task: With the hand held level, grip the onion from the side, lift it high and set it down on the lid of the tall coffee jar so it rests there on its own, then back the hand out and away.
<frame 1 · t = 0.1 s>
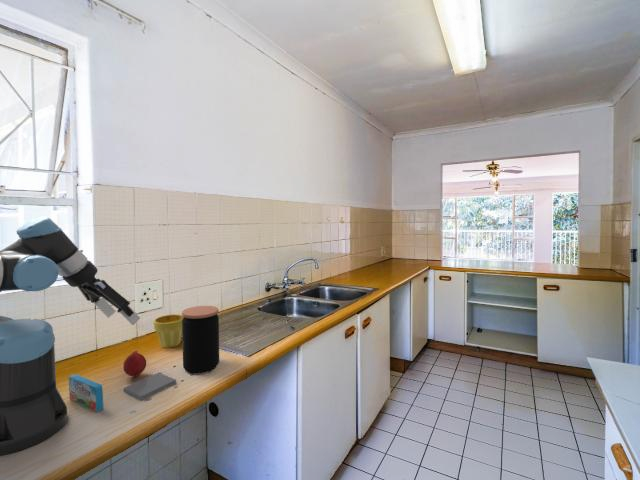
hand: (123, 317, 100), 15 cm above the table, tool tilted 35°, fingers open, 13 cm apart
plant pot: (170, 344, 118), on the table
coffee jar: (201, 367, 101), on the table
onion: (135, 377, 94), on the table
slate trivet: (150, 387, 88), on the table
blue flat box: (86, 405, 80), on the table
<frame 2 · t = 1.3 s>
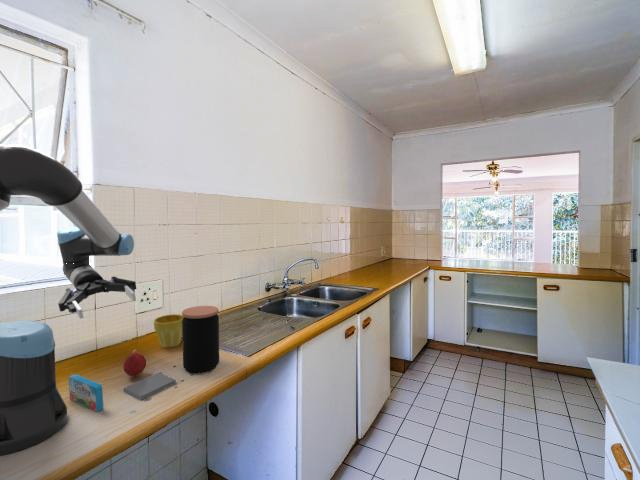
hand: (109, 305, 93), 21 cm above the table, tool horizontal, fingers open, 13 cm apart
nothing on the table moved.
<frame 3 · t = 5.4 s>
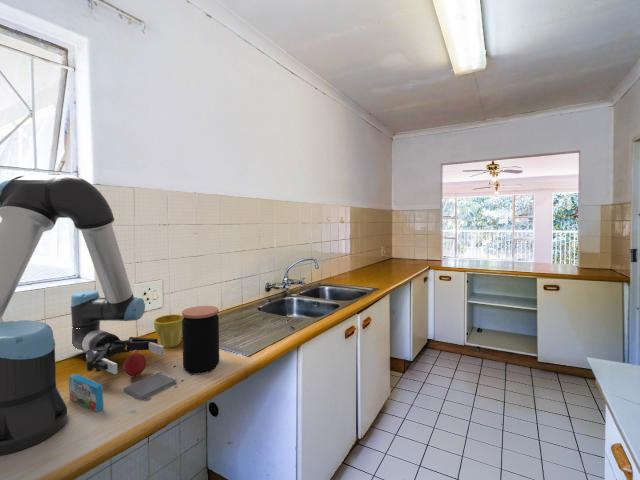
hand: (140, 359, 92), 6 cm above the table, tool horizontal, fingers open, 13 cm apart
nothing on the table moved.
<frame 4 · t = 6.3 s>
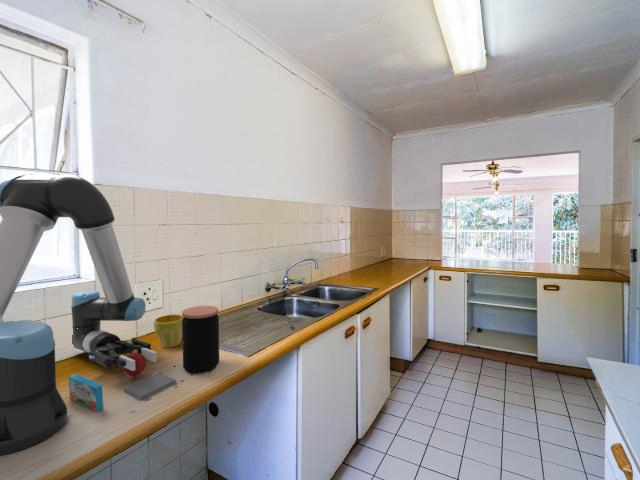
hand: (145, 361, 91), 6 cm above the table, tool horizontal, fingers closed on onion, 6 cm apart
onion: (135, 377, 94), on the table, touching gripper
everything else where it was.
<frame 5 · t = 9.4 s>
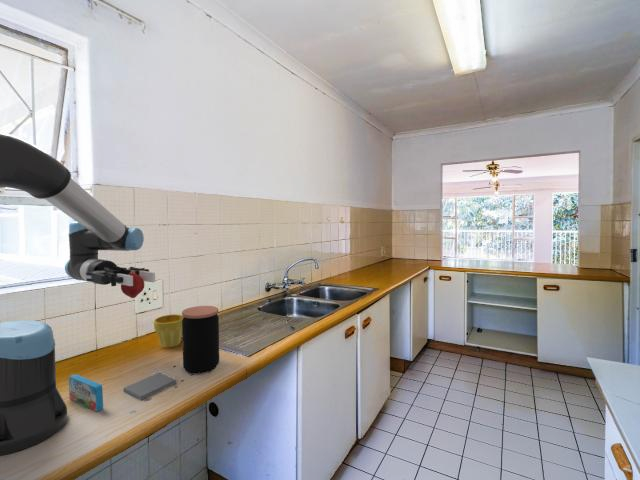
hand: (143, 279, 89), 29 cm above the table, tool horizontal, fingers closed on onion, 6 cm apart
onion: (133, 298, 92), point 23 cm above the table, touching gripper
everything else where it was.
when the fingers open (25 cm above the table, at t = 12.4 s): onion drops 1 cm, resting on coffee jar.
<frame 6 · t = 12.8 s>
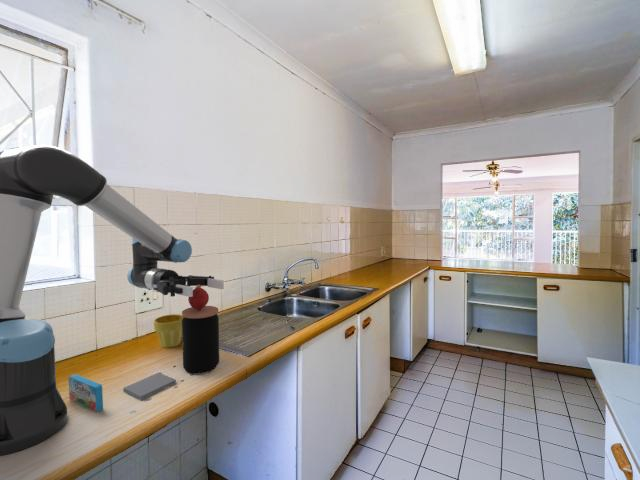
hand: (207, 288, 96), 25 cm above the table, tool horizontal, fingers open, 11 cm apart
coffee jar: (201, 367, 101), on the table, touching onion
onion: (199, 311, 99), point 18 cm above the table, touching coffee jar
everything else where it was.
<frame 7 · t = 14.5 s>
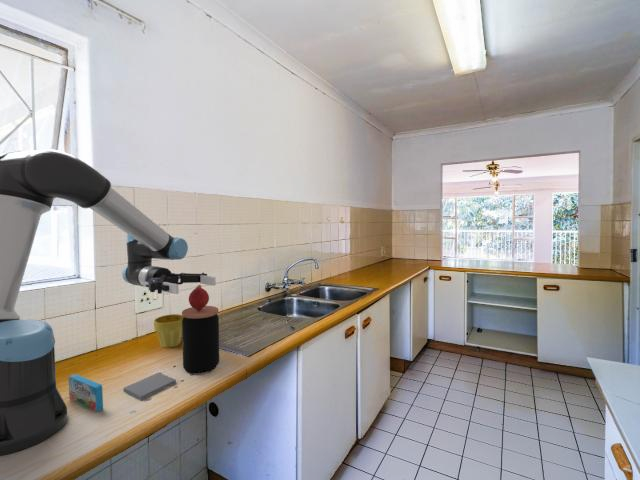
hand: (197, 285, 99), 26 cm above the table, tool horizontal, fingers open, 13 cm apart
nothing on the table moved.
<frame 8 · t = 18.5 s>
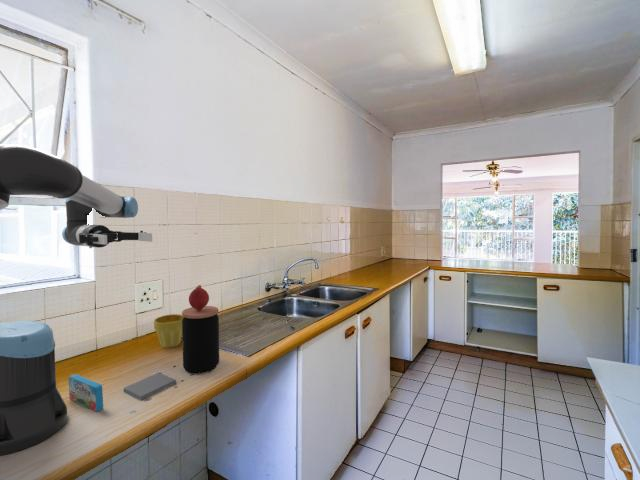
hand: (129, 238, 98), 40 cm above the table, tool horizontal, fingers open, 13 cm apart
nothing on the table moved.
at the end: onion inside the target area on the coffee jar (0.5 cm from its centre), point 18.0 cm above the coffee jar's base; onion touching coffee jar; coffee jar tilted 0° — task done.
